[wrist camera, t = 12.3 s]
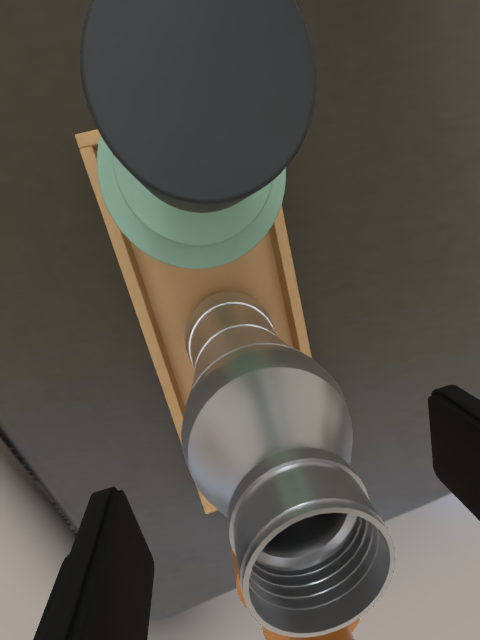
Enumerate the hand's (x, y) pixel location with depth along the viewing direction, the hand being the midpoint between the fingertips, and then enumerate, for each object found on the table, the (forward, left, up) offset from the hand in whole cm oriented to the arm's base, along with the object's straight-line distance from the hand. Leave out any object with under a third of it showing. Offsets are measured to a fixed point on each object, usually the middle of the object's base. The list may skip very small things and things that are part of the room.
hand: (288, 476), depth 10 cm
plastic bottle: (0, 0, -18) cm, 18 cm away
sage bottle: (-9, 0, -17) cm, 20 cm away
